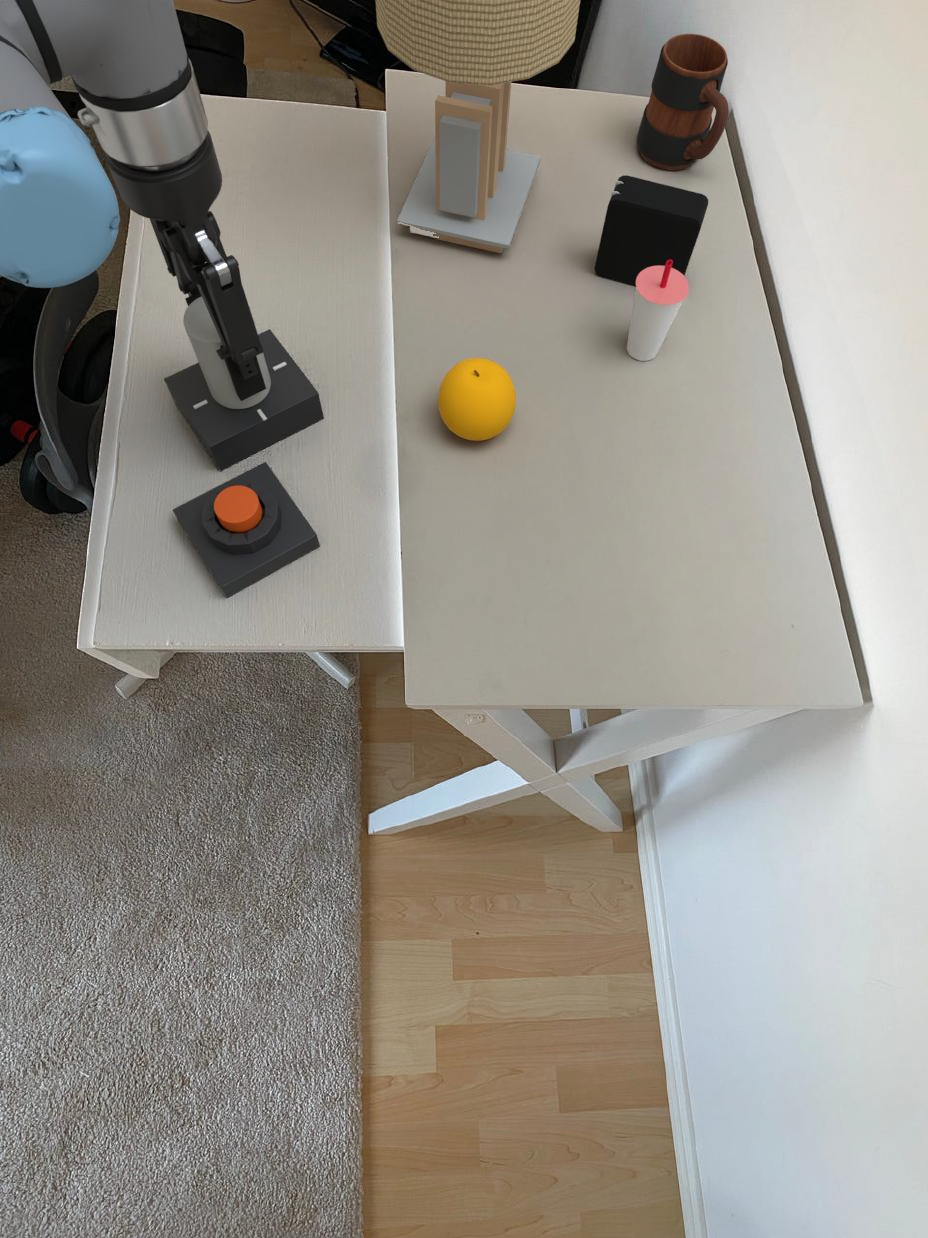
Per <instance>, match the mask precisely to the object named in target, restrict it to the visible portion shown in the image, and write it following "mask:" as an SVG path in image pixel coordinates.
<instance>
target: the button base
mask: <svg viewBox="0 0 928 1238" xmlns="http://www.w3.org/2000/svg"><path fill="white" fill-rule="evenodd" d="M231 486H245V487H248V488H250V489H252V490H253V491H254V492H255V493H256V495H257V497H258V499H259V502H260V504H261V507H262V518H261V520H260V522H259V523H258V524H257V525H256V526H255V527H254V528H253V529H251V530H249V531H246V532H241V533H236V532H231V531H229V530H227V529H225V528H224V527H223V526H222V525H221V523H220V521H219V519H218V517H217V515H216V513H215V510H214V502H215V499H216V497H217V496H218V494H219V493H220V492H222V491H223V490H224V489H226V488H228V487H231ZM172 513H173V514H174V516H175V517H176V519H177V521H178V522H179V524H180V525H181V527H182V529H183V530H184V533H185V534H186V535H187V537H188V538H189V540H190V542H191V543H192V545H193V546H194V548H195V550H196V551H197V553H198V555H199V556H200V558H201V559H202V561H203V563H204V564H205V566H206V567H207V569H208V570H209V572H210V575H212V577H213V579H214V581H215V582H216V583H217V585H218V587H219V588H220V590H221V591H222V593H223V595H224V596H225V598H226V599H229V598H230V597H231V596H234V595H235V594H237V593H239V592H240V591H243V590H244V589H246V588H248V587H250V586H252V585H253V584H255V583H257V582H259V581H261V580H262V579H264V578H266V577H268V576H269V575H272V574H274V573H275V572H277V571H278V570H281V569H282V568H284V567H286V566H288V565H289V564H291V563H293V562H295V561H296V560H298V559H300V558H301V557H304V556H306V555H307V554H309V553H311V552H313V551H314V550H317V549H318V548H320V547H321V545H320V544H321V543H320V541H319V538H318V537H319V536H318V534H317V533H316V531H315V530H314V528H313V527H312V526H311V524H310V523H309V521H308V520H307V518H306V517H305V516H304V514H303V513H302V511H301V509H300V508H299V507H298V506H297V504H296V502H295V501H294V500H293V498H292V497H291V495H290V494H289V493H288V491H287V490H286V488H285V487H284V485H283V484H282V482H281V481H280V479H278V477H277V475H276V474H275V473H274V471H273V470H272V468H271V467H270V465H269V464H268V463H267V461H263V462H262V463H260V464H258V465H256V466H254V467H252V468H250V469H249V470H246V471H245V472H243V473H241V474H239V475H237V476H235V477H233V478H231V479H229V480H227V481H225V482H223V483H221V484H219V485H217V486H215V487H213V488H212V489H210V490H207V491H206V492H204V493H201V494H200V495H198V496H196V497H194V498H192V499H190V500H188V501H186V502H184V503H182V504H181V505H178V506H176V507H175V508H173V509H172Z"/></svg>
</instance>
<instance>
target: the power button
mask: <svg viewBox="0 0 928 1238" xmlns="http://www.w3.org/2000/svg"><path fill="white" fill-rule="evenodd" d="M214 510H215V513H216V515H217V517H218V519H219V521H220V523H221V525H222V526H223V527H224V528H225V529H227V530H229V531H231V532H236V533H241V532H246V531H249V530H251V529H253V528H254V527H255V526H256V525H257V524H258V523H259V522H260V520H261V518H262V507H261V504H260V502H259V499H258V497H257V495H256V493H255V492H254V491H253V490H252V489H250V488H248V487H245V486H231V487H228V488H226V489H224V490H223V491H222V492H220V493H219V494H218V496H217V497H216V499H215V502H214Z"/></svg>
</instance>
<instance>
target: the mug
mask: <svg viewBox="0 0 928 1238" xmlns="http://www.w3.org/2000/svg"><path fill="white" fill-rule="evenodd" d="M728 63H729V59H728V54H727V51H726V49H725V48H724V47H723V46H722V45H721V43H720V42H718V41H716V40H715V39H713V38H712V37H708V36H706V35H703V34H697V33H682V34H681V33H680V34H677V35H675V36H672V37H670V38H669V39H667V41H666V42H665V43H664V44H663V45H662V47H661V49H660V52H659V57H658V61H657V64H656V68H655V70H654V75H653V77H652V81H651V91H650V96H649V100H648V103H647V104H646V105H645V108H644V111H643V114H642V117H641V120H640V124H639V128H638V131H637V136H636V145H637V148H638V150H639V153H640V155H641V156H642V158H643V159H644V160H645V161H646V162H647V163H649V164H650V165H652V166H654V167H657V168H658V169H662V170H667V171H668V170H669V171H677V170H678V171H679V170H683V169H686V168H689V167H690V166H692V165H693V164H695V163H696V161H698V160H703V159H705V158H706V157H708V156H709V155H710V154H711V153H712V152H713V150H714V149H715V147H716V146H717V144H718V143H719V141H720V139H721V138H722V135H723V133H724V131H725V129H726V126H727V123H728V119H729V112H730V111H729V109H730V108H729V103H728V99H727V98H726V97H725V96H724V94H723V93H721V89H722V85H723V81H724V78H725V75H726V70H727V67H728ZM714 109H715V116H714V120H713V112H714ZM712 121H713V122H712Z"/></svg>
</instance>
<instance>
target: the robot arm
mask: <svg viewBox="0 0 928 1238" xmlns="http://www.w3.org/2000/svg"><path fill="white" fill-rule="evenodd" d="M70 76H71V80H72V82H73V85H74V87H75V89H76V91H77V93H78V94H79V95H78V96H79V97H80V99H81V101H82V103H83V104H84V105H85V108H82V109H80V110H78V111H77V117H78V119H79V121H80V123H81V125H82V126H84V127H87V128H89V127H92V128H93V132H94V133H95V136H96V138H97V141H98V143H99V146H100V147H101V149H102V150H103V155H104V159H105V160H104V161H105V162H106V164H107V167H108V169H109V172H110V174H111V177H112V179H113V181H114V183H115V186H116V189H117V191H118V193H119V196H120V198H121V200H122V201H123V203H124V204H125V205H126V206H127V207H128V208H129V209H130V210H131V211H132V212H134V214H135V213H136V214H137V215H138V216H141V217H143V218H146V219H149V221H150V224H151V226H152V229H153V233H154V235H155V237H156V240H157V243H158V246H159V248H160V250H161V253H162V256H163V259H164V261H165V265H166V266H167V268H166V270H167V272H168V273H169V274H170V275H171V276H172V277H173V278H175V277H176V280H177V285H178V289H179V291H180V292H182V294H183V295H188V296H187V297H185V298H184V300H185V302H186V305H187V307H188V306H189V305H190V304H191V303H192V302H193V301H194V300H196V299H197V298H199V297H201V296H202V298H203V300H204V303H205V305H206V307H207V309H208V312H209V314H210V316H211V319H212V321H213V323H214V326H215V328H216V330H217V333H218V335H219V337H220V339H221V342H222V344H223V345H222V346H220V349H218V350H216V352H217V354H218V356H219V357H220V359H221V360H223V359H224V360H225V363H226V365H227V368H228V371H229V374H230V377H231V379H232V382H233V385H234V388H235V391H236V393H237V396H238V397H239V399H240V400H241V401H243V400H245V399H247V398H249V397H251V396H253V395H255V394H257V393H259V392H261V391H263V390H265V389H266V386H265V383H264V379H263V376H262V373H261V370H260V366H259V363H258V360H257V355H259V354H261V353H263V349H262V348H263V347H262V345H261V343H260V340H259V336H258V330H257V327H255V326H256V323H255V320H254V316H253V313H252V310H251V311H250V309H251V307H250V305H249V302H248V299H247V295H246V292H245V290H244V289H245V288H244V286H243V282H242V278H241V271H240V264H239V262H238V261H239V260H237V258H236V257H235V256H234V255H233V254H231V255H230V254H229V255H228V256H227V253H226V251H225V249H224V246H223V243H222V240H221V229H220V227H219V224H218V221H217V219H216V217H215V215H214V213H213V211H211V210H210V208H211V207H212V205H213V204H214V202H215V201H216V200H217V198H218V196H219V195H220V192H221V190H222V187H223V174H222V171H221V167H220V164H219V160H218V157H217V153H216V150H215V146H214V141H213V138H212V134H211V133H210V131H209V120H208V117H207V114H206V110H205V109H206V108H205V106H204V103H203V98H202V95H201V91H200V88H199V84H198V81H197V77H196V74H195V71H194V67H193V65H192V61H191V59H190V58H189V56H188V52H187V49H186V46H185V42H184V37H183V34H182V29H181V27H180V22H179V19H178V15H177V11H176V7H175V3H174V0H0V277H3V278H5V279H7V280H9V281H13V282H15V283H18V284H22V285H24V286H25V287H30V288H37V289H39V288H40V289H51V288H59V287H64V286H65V287H66V286H68V285H70V284H74V283H76V282H78V281H80V280H83V279H84V278H86V277H88V276H90V275H91V274H92V273H94V272H95V271H96V270H98V268H100V267H101V266H102V264H103V263H104V262H105V261H106V260H107V258H108V257H109V256H110V254H111V252H112V250H113V249H114V246H115V243H116V241H117V239H118V234H119V225H120V222H121V220H122V219H121V217H120V209H119V202H118V197H117V195H116V190H115V188H114V187H113V184H112V182H111V180H110V179H109V177H108V175H107V172H106V171H105V169H104V167H103V165H102V164H101V161H100V160H99V158H98V155H97V154H96V153H97V152H96V150H95V148H94V147H93V146H92V143H91V140H90V138H89V136H88V135H87V134H86V133H85V132H84V131H83V130H82V128H81V127H80V126H79V125H78V124H77V123H76V122H75V121H74V120H73V119H72V117H71V116H70V114H68V112H67V111H66V108H64V107H63V105H62V104H61V102H60V101H59V99H58V98H57V97H56V95H55V94H54V92H53V91H52V90H51V88H50V87H49V85H52V84H55V83H58V82H60V81H62V80H63V79H65V78H68V77H70ZM249 307H250V308H249ZM251 313H252V314H251ZM252 316H253V317H252ZM253 320H254V321H253ZM254 323H255V324H254Z"/></svg>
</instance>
